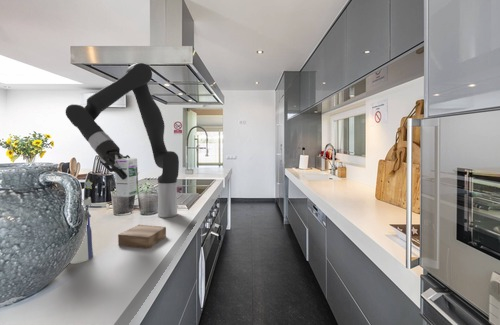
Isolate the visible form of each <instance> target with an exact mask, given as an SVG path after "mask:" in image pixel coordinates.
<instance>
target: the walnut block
mask: <svg viewBox="0 0 500 325" xmlns="http://www.w3.org/2000/svg"><path fill="white" fill-rule="evenodd" d="M117 237H118V239H117V240H118V241H117V242H118V246H123V247H129V248H130V247H131V248H140V249H150V248H152V247H153V246H154V245H156V244H158V243H159V242H160V241H162V240H163V239H165V238H166V237H167V227H166V226H162V225H161V226H158V225H149V224H136V225H135V226H133V227H131V228H128V229H127V230H124V231H123V232H120V233H119V234H117Z"/></svg>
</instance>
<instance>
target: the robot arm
mask: <svg viewBox="0 0 500 325" xmlns="http://www.w3.org/2000/svg"><path fill="white" fill-rule="evenodd" d="M152 78H153V72H152V69H151V67H150V66H149V65H148V64H147V63H143V62H137V63H134V64H132V65H130V66H128V67H127V68H126V73H125V74H124V75H123V76H121V78H118V79H117V80H115V81H114V82H112V83H110V84H109V85H106V86H104V87H103V88H101V89H99V90H98V91H96V92H94V93H93V94H92V95H90V96H89V97H87V99H86V105H85V106H83V105H81V104H78V103H70V104H69V105H68V106H67V107H66V109H65V116H66V117H67V119H68V120H69V121H70V122H71V124H72V125H73V126H74V127H76V128H77V130H79V132H80V133H81V135H82V137H83V138H84V139H85V141H87V142H88V143H89V145H90V147H91V148H92V149H93V151H94V152H95V153H96V154H97V155H98V157H99V158H100V160H99V163H100V164H101V165H102V166H103V167H104V168H105V169H107V171H109V172H110V173H113V172H114V174H115V173H117V174H118V175H119V176H120V178H122V180H124V179H126V178H127V175H126V173H125V172H124V171H123V170H122V169H121V168H120V166H119V165H118V162H117V161H115V159H123V158H131V157H130V156H129V155H128V154H127V155H125V156H124V155H123V154H122V153H120V151H121V150H120V147H119V146H118V145H117V143H115V141H114V140H113V139H112V137H110V136H109V135H108V134H107V133H106V132H105V131H104V130H103V128H101V126H100V124H98V123H97V122H96V119H97V118H99V116H100V114H101V113H102V112H103V111H106V109H108V108H109V107H111V106H112V105H114V104H115V103H116V102H117V101H119V99H121V98H122V97H124V96H125V95H127V94H128V93H130V92H133V95H134V97H135V100H136V104H137V107H138V111H139V113H140V117H141V119H142V123H143V126H144V129H145V131H146V134H147V136H148V140H149V143H150V146H151V150H152V151H151V152H152V156H153V160H154V163H155V165H156V167H158V168H159V169H162V173H161V175H159V176H158V178H157V217H159V218H163V219H164V218H173V217H176V216H178V193H177V192H178V186H177V184H178V178H179V171H180V170H179V168H180V160H179V156H178V154H177V153H176V152H175V151H172V150H167V146H166V143H165V141H164V140H165V138H164V136H165V122H164V117H163V114H162V111H161V109H160V107H159V106H158V104H157V103H156V101H155V100H154V98H153V97H152V95H151V92H150V89H149V84H148V83H149V82H151V80H152ZM115 162H116V163H115Z"/></svg>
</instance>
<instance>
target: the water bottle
mask: <svg viewBox="0 0 500 325" xmlns="http://www.w3.org/2000/svg"><path fill="white" fill-rule="evenodd" d="M84 185H86V189H91V190H92V189H93V188H92V185H93V182H91V181H90V179H87V181H85V182H84ZM82 200H83V201H84V204H85V205H86V207H87V210H88V225H87V231H86V235H85V238H84V240H83V243H82V245H81V247H80V249H79V251H78V253H77V254H76V256H75V257H74V259H73V260H72V262H71V264H70V265H74V264H81V263H84V262H87V261H90V260H91V259H93V257H94V252H93V251H94V250H93V238H92V237H93V236H92V235H93V234H92V227H91V223H90V222H91V221H90V220H91V217H92V215H91V214H90V211H89V207H91V206H92V205H93V204H92V198H91V196H89V197H88V198H87V199H82Z"/></svg>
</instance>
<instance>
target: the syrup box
mask: <svg viewBox="0 0 500 325" xmlns="http://www.w3.org/2000/svg"><path fill="white" fill-rule="evenodd" d="M115 161H117V162H118V165H119V166H120V168H121V169H122V170H123V171H124V172H125V173H126V175H127V178H126V179H124V180H122V178H120V176H119V175H118V174H117V173H115V172H114V174H115V194H116V195H115V196H117V197H125V198H130V197H132V196H135V195H138V194H139V182H138V181H139V179H138V178H139V173H138V172H139V171H138V159H137V158H135V157H130V158H123V159H115ZM115 163H116V162H115Z"/></svg>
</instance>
